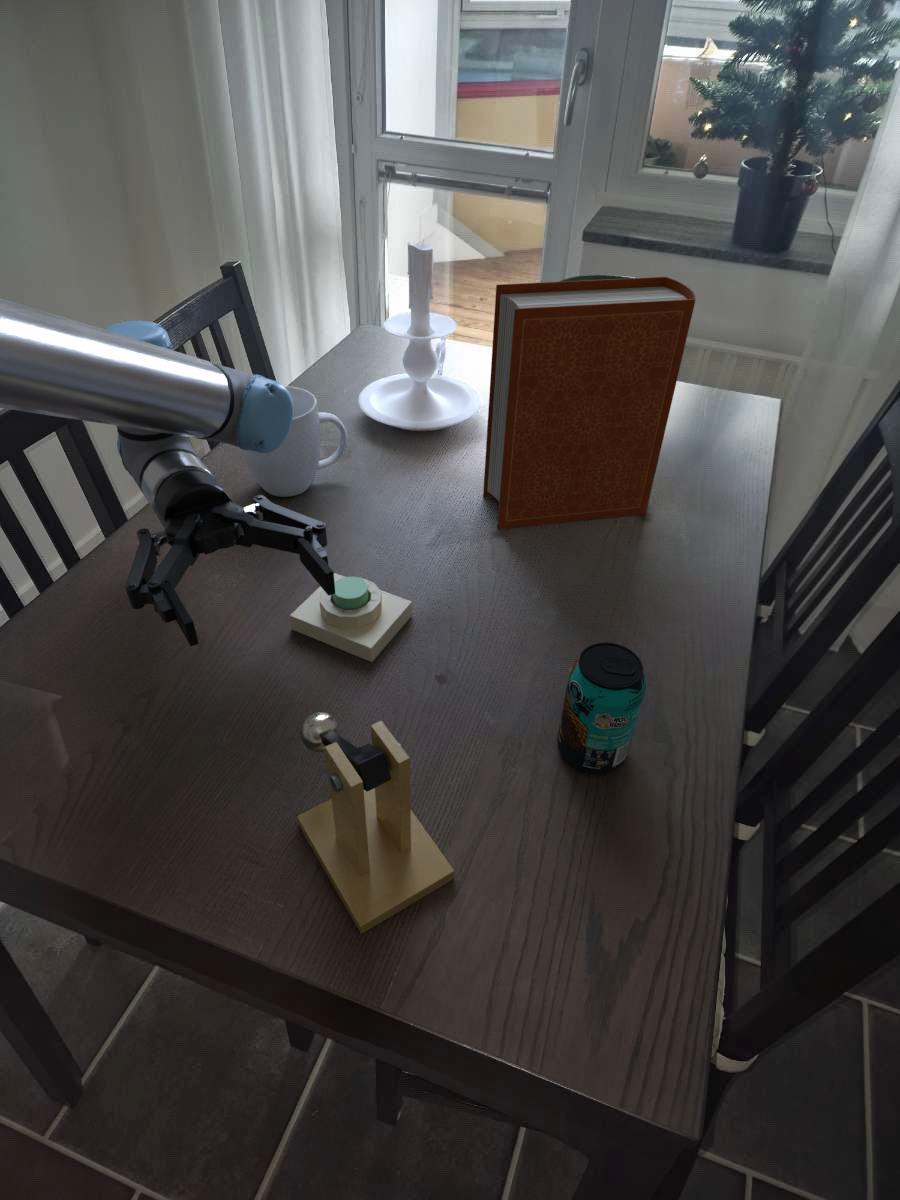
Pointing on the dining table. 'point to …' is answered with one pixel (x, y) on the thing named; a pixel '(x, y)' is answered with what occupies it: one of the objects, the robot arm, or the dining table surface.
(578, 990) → the dining table surface
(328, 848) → the switch bracket
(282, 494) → the mug
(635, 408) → the book
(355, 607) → the light button
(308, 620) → the switch box
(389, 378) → the candlestick
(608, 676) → the beverage can
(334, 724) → the switch lever
